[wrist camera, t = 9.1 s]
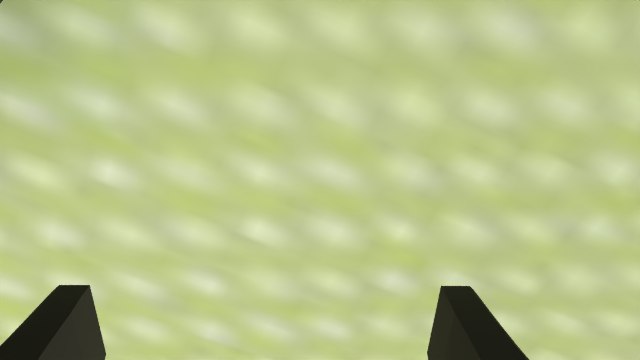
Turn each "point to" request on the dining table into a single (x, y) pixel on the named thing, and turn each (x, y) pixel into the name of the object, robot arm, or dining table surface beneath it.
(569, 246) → the dining table surface
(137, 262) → the dining table surface
